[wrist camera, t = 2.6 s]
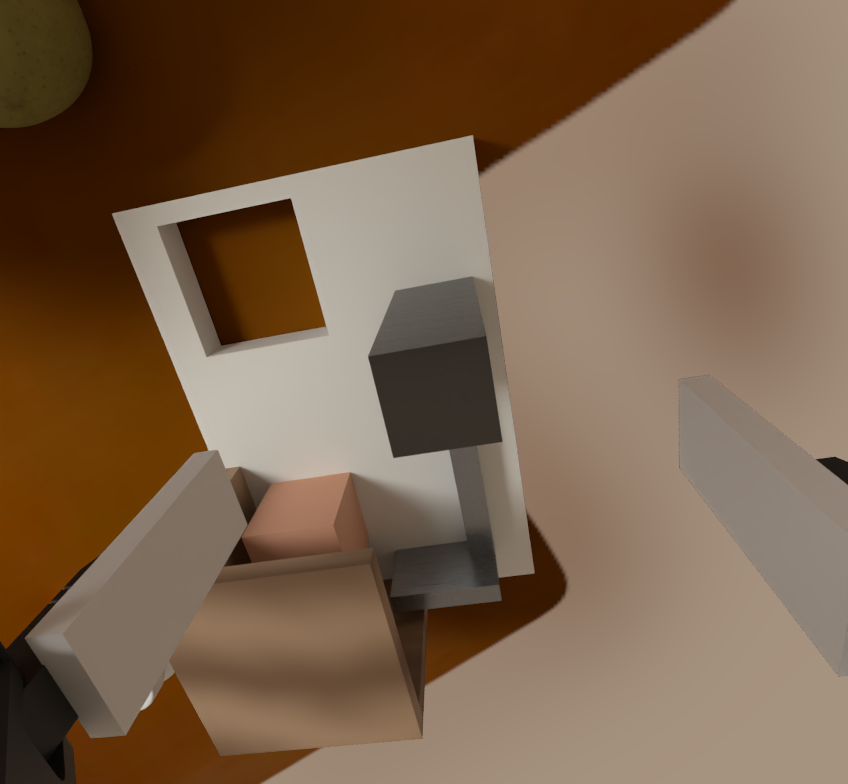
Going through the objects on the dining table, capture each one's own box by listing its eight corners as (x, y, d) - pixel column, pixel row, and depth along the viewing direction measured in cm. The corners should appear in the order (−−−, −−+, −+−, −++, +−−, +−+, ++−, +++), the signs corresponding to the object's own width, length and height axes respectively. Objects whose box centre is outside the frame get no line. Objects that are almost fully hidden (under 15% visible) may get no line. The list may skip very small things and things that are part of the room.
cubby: (224, 468, 31) (132, 593, 22) (393, 443, 30) (370, 564, 21) (278, 603, 36) (220, 755, 26) (428, 586, 34) (422, 738, 25)
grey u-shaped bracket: (329, 302, 27) (269, 373, 18) (472, 276, 26) (486, 336, 17) (400, 564, 34) (382, 713, 25) (515, 549, 33) (541, 698, 24)
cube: (270, 483, 32) (241, 537, 27) (350, 472, 31) (333, 524, 26) (294, 547, 34) (270, 608, 29) (369, 538, 33) (356, 598, 28)
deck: (134, 210, 27) (111, 213, 26) (470, 137, 25) (472, 135, 23) (280, 583, 37) (271, 604, 36) (530, 552, 35) (534, 573, 34)
